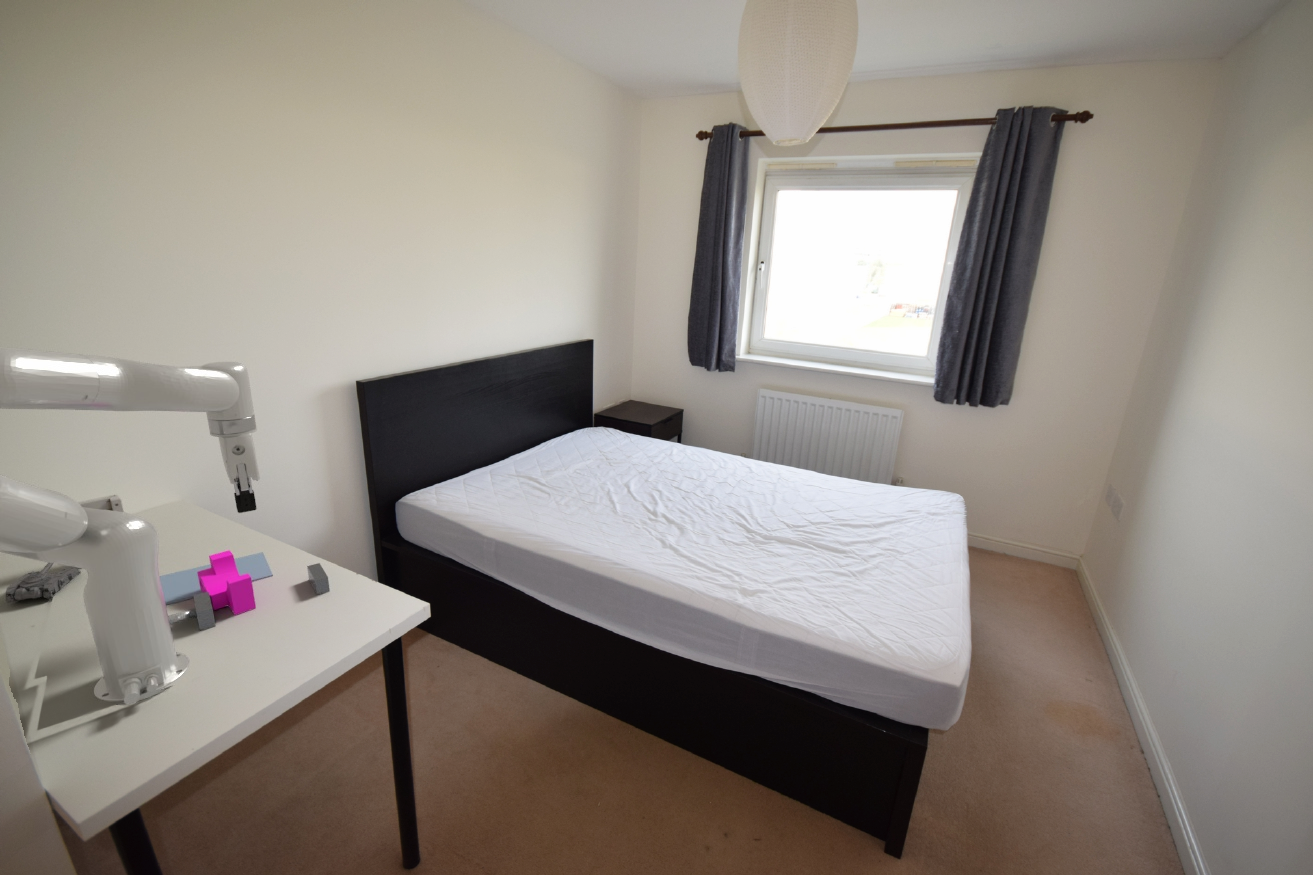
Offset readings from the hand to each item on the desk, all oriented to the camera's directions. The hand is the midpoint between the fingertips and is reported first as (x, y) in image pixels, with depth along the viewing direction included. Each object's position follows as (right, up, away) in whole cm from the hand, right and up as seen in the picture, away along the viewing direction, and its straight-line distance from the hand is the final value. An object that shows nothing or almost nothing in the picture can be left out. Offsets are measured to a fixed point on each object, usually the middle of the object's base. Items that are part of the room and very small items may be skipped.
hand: (246, 510), depth 118 cm
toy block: (-8, -20, +5) cm, 22 cm away
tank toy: (-49, -18, +7) cm, 53 cm away
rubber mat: (-17, -18, +13) cm, 28 cm away
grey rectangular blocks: (-2, -21, +3) cm, 21 cm away
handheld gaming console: (-48, -14, +20) cm, 54 cm away
